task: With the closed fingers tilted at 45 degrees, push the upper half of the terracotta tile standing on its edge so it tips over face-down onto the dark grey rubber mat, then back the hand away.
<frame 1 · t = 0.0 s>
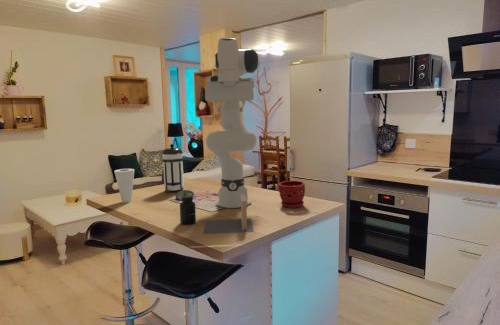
hand: (230, 112, 142), 48 cm above the countertop, tool pointing down, fingers open, 8 cm apart
coffee press: (175, 191, 215), on the countertop
tile: (244, 225, 144), point 1 cm above the countertop, touching mat
cup: (126, 202, 192), on the countertop
plant pot: (291, 206, 175), on the countertop
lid: (184, 198, 196), on the countertop
supplement bottle: (188, 223, 151), on the countertop
mat: (228, 226, 144), on the countertop
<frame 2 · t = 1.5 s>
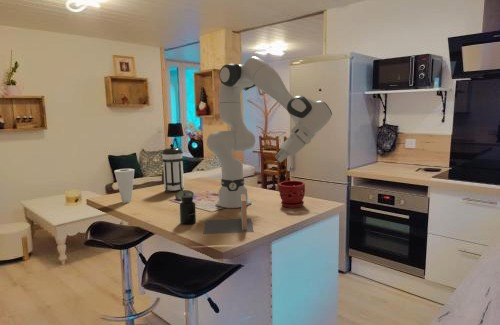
hand: (277, 159, 141), 28 cm above the countertop, tool tilted 45°, fingers open, 8 cm apart
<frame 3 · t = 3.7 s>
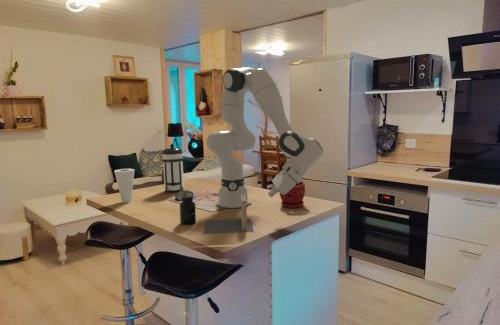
hand: (269, 195, 143), 13 cm above the countertop, tool tilted 45°, fingers closed
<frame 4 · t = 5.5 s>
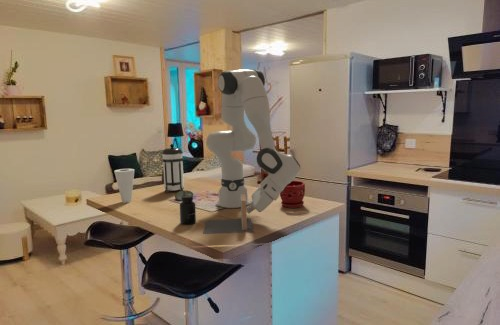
hand: (247, 211, 143), 6 cm above the countertop, tool tilted 45°, fingers closed, pressing on tile
tile: (244, 224, 144), point 1 cm above the countertop, touching gripper, mat
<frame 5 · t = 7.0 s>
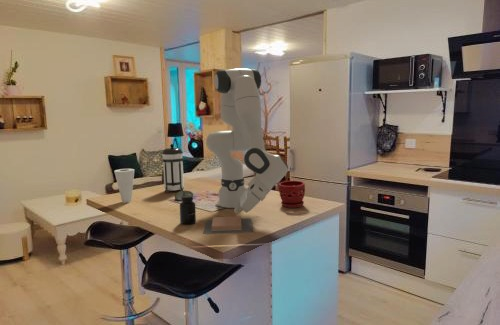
hand: (235, 212, 143), 6 cm above the countertop, tool tilted 45°, fingers closed
tile: (241, 222, 144), point 2 cm above the countertop, tilted 90°, touching mat
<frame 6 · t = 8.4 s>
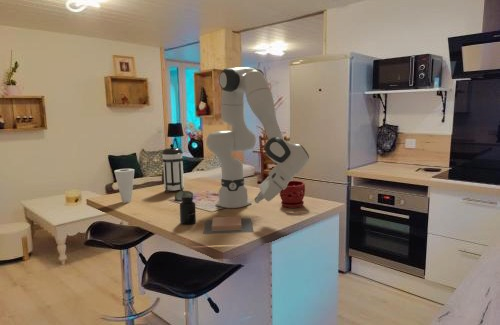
hand: (255, 201, 143), 11 cm above the countertop, tool tilted 45°, fingers closed
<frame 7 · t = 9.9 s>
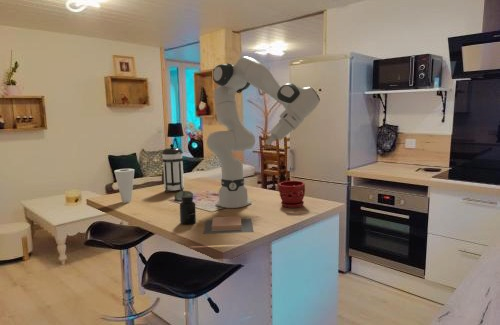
hand: (266, 143, 146), 34 cm above the countertop, tool tilted 45°, fingers closed
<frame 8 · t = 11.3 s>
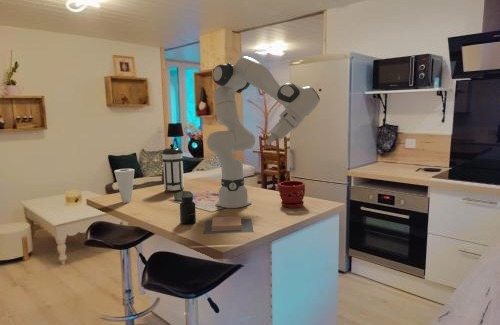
hand: (266, 143, 146), 34 cm above the countertop, tool tilted 45°, fingers closed
at the end: tile tilted 90°; tile touching mat; tile inside the target area on the mat (5.3 cm from its centre), point 1.6 cm above the mat's base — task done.
